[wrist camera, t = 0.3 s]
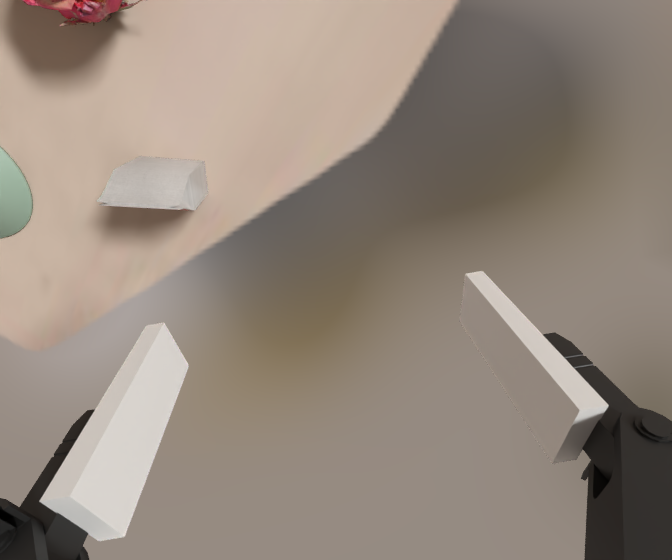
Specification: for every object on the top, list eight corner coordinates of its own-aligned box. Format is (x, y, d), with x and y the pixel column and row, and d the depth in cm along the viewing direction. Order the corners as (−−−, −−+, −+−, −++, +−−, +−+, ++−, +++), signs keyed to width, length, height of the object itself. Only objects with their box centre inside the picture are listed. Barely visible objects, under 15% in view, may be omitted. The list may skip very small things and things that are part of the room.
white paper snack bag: (140, 155, 35) (90, 181, 26) (204, 160, 35) (175, 186, 27) (147, 189, 37) (103, 222, 28) (208, 193, 37) (182, 226, 29)
